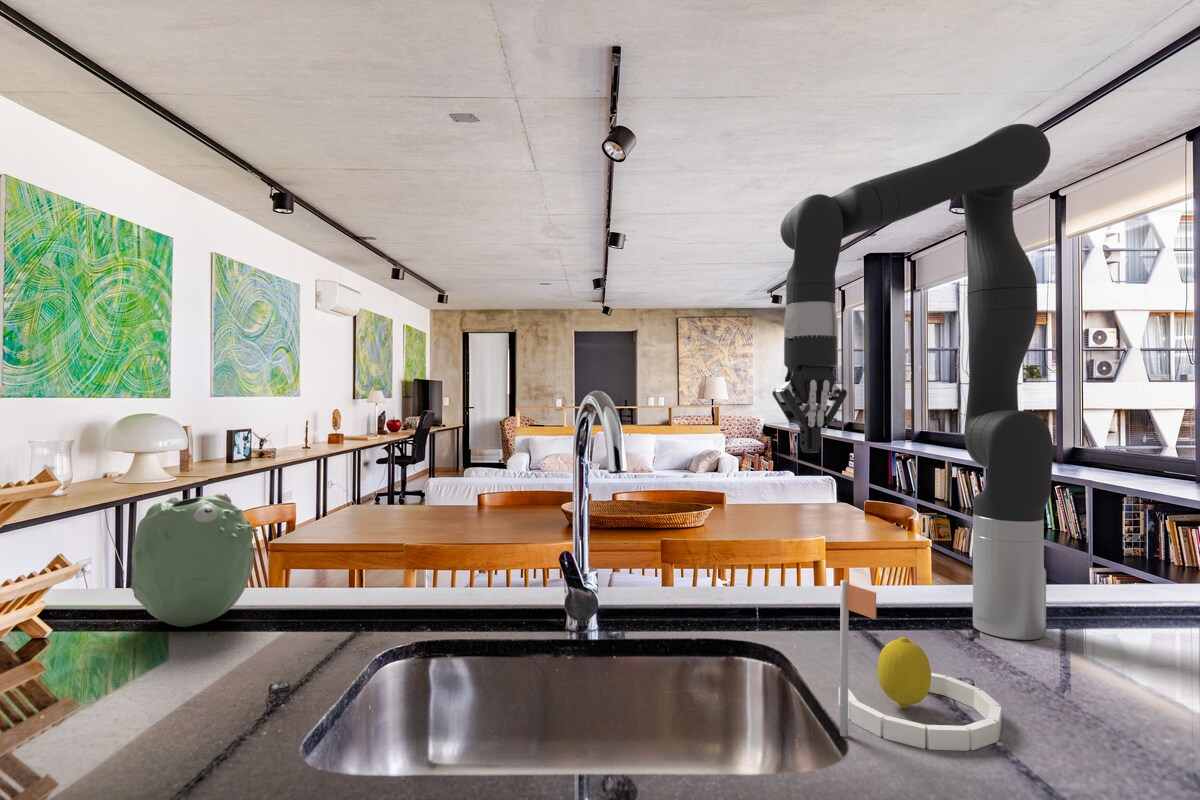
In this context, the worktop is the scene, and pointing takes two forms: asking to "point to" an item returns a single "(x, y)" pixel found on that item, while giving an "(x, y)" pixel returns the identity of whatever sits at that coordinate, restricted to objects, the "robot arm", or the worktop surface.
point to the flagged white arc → (940, 684)
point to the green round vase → (192, 559)
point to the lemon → (904, 672)
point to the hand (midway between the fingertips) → (810, 452)
